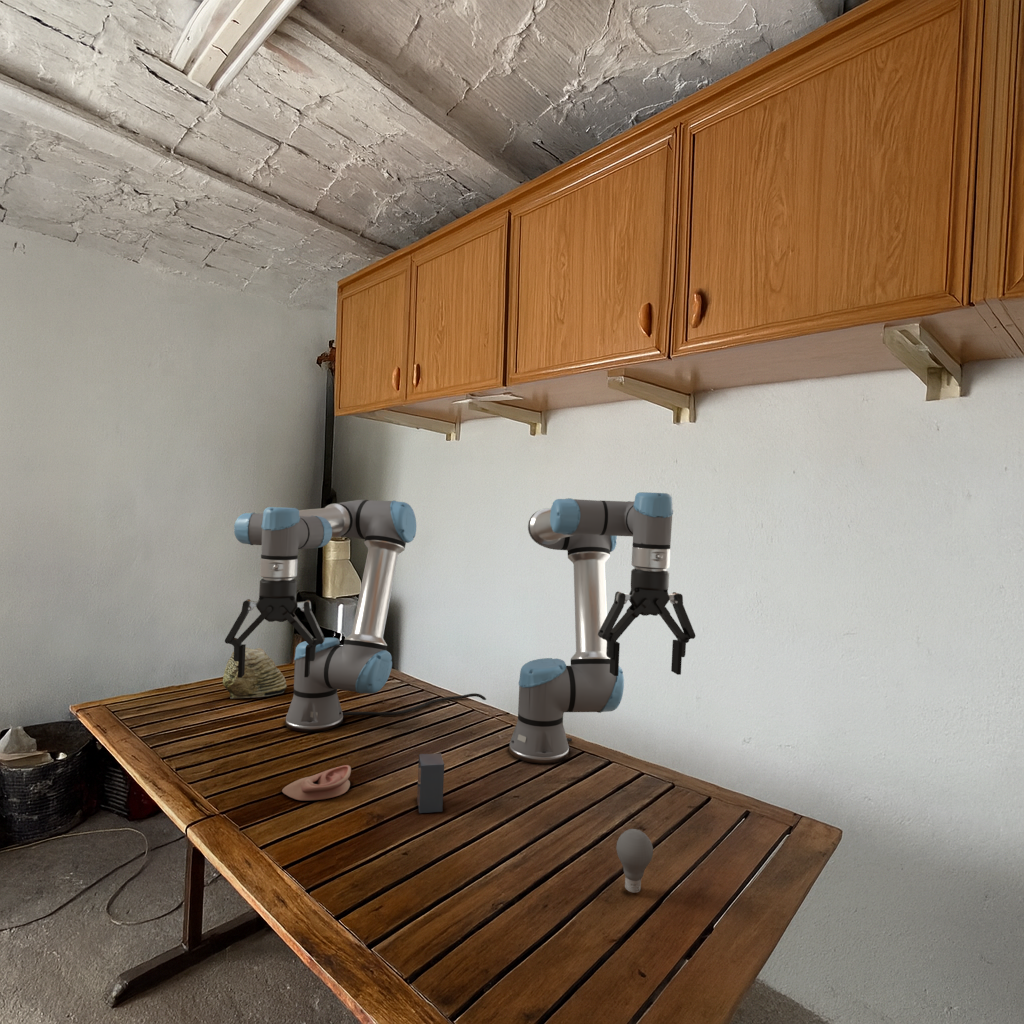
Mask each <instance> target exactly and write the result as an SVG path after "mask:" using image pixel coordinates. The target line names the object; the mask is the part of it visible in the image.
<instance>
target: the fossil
mask: <svg viewBox="0 0 1024 1024" xmlns="http://www.w3.org/2000/svg"><path fill="white" fill-rule="evenodd" d="M222 676H223V677H222V685H223V687H224V688H225V690H226V691H228V693H229V698H230V699H250V698H264V697H271V696H275V695H281V694H284V693H285V691H286V689H287V687H288V686H287V680H286V678H285V676H284V674H283V673H282V672H281V669H279V668H278V667H277V665H276V663H275V662H274V660H273V659H272V658H271V657H270V656H269V655H268V654H267V653H266V652H265V650H264V649H263V648H260V647H258V648H251V647H247V646H246V649H245V672H244V675H243V676H242V678H238V661H234V651H232V653H231V656H230V657H229V659H228V660H227V663H226V666H225V668H224V671H223V675H222Z"/></svg>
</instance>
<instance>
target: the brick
mask: <svg viewBox="0 0 1024 1024" xmlns="http://www.w3.org/2000/svg"><path fill="white" fill-rule="evenodd" d="M444 781H445V762H444V759H443V755H442V753H441V752H440V753H419V754H418V766H417V788H416V790H417V791H416V803H417V809H418V813H419V814H427V813H428V814H429V813H443V808H444V807H443V805H444Z"/></svg>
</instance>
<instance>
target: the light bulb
mask: <svg viewBox="0 0 1024 1024" xmlns="http://www.w3.org/2000/svg"><path fill="white" fill-rule="evenodd" d="M615 849H616V854H617V857H618V859H619V861H620V863H621V865H622V867H623V873H624V874H623V875H624V876H625V878H624V888H625V890H627V891H628V892H630V893H634V894H635V893H639V892H640V891H641V889H642V887H641V886H642V879H643V877H644V875H645V871H646V868H647V867H648V866H649V864H650V863H651V861H652V859H653V855H654V847H653V843H652V841H651V838H649V836H648V835H647V834H646V833H645V832H643V831H642V830H641V829H636V828H629V829H627V830H625V831H623V832H622V833H621V834H620V835H619V837H618V839H617V841H616V847H615Z"/></svg>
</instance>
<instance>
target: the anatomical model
mask: <svg viewBox="0 0 1024 1024" xmlns="http://www.w3.org/2000/svg"><path fill="white" fill-rule="evenodd" d="M351 772H352V768H351V765H349V764H346V765H345V764H344V765H340V766H337V767H333V768H330V769H326V770H324V771H321V772H319V773H316V774H313V775H311V776H306V777H302V778H299V779H297V780H295V781H293V782H291V783H289V784H287V785H286V786H284V787H283V788H282V790H281V792H282V793H283V794H284V795H286V796H287V797H289V798H291V799H294V800H297V801H302V802H303V801H305V802H308V801H319V800H326V799H331V798H335V797H338V796H342V795H343V794H345V793H346V792H348V790H349V789H350V787H351V781H350V780H349V779H350V776H351Z"/></svg>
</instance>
